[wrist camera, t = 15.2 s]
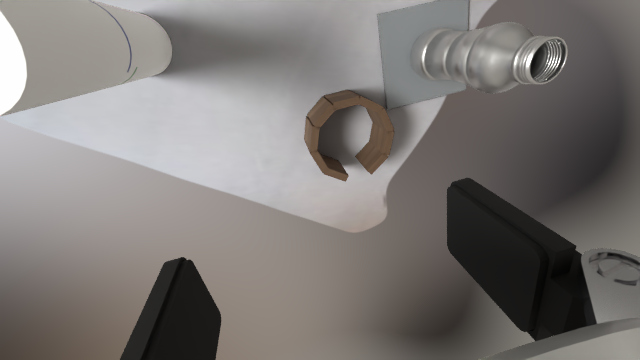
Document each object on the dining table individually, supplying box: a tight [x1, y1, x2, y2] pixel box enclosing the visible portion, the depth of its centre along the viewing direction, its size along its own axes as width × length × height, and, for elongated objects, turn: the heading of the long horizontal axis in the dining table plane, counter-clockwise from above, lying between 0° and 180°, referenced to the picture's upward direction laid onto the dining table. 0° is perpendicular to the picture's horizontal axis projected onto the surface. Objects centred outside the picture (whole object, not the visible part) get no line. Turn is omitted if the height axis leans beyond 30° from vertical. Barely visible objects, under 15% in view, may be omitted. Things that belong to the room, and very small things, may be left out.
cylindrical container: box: [0, 0, 172, 116], centre depth 24 cm, size 7×7×25 cm
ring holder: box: [304, 90, 394, 182], centre depth 42 cm, size 12×12×6 cm
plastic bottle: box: [410, 22, 568, 94], centre depth 33 cm, size 6×7×20 cm
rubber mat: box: [377, 0, 469, 110], centre depth 42 cm, size 13×13×1 cm
